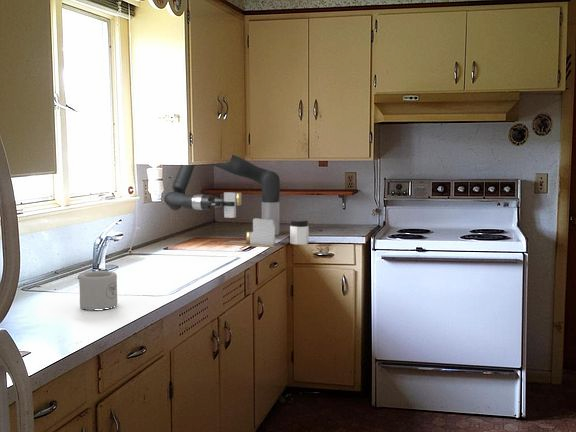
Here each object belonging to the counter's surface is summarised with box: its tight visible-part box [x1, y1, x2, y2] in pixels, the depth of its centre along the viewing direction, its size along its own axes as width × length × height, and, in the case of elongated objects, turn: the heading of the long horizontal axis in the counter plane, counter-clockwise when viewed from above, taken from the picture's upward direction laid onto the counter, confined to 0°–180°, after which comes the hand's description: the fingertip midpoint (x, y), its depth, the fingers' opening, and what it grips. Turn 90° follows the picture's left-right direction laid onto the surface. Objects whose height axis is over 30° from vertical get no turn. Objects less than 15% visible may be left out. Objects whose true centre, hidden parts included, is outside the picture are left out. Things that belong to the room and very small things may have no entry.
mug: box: [78, 270, 118, 311], centre depth 206 cm, size 14×11×10 cm
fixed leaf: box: [245, 217, 276, 246], centre depth 319 cm, size 3×14×12 cm, turn 70°
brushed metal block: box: [223, 191, 242, 219], centre depth 333 cm, size 8×3×12 cm, turn 70°
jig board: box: [220, 240, 281, 248], centre depth 322 cm, size 12×26×1 cm, turn 71°
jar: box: [289, 218, 310, 245], centre depth 325 cm, size 9×8×12 cm
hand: (235, 203), depth 332 cm, fingers closed on brushed metal block, 2 cm apart
